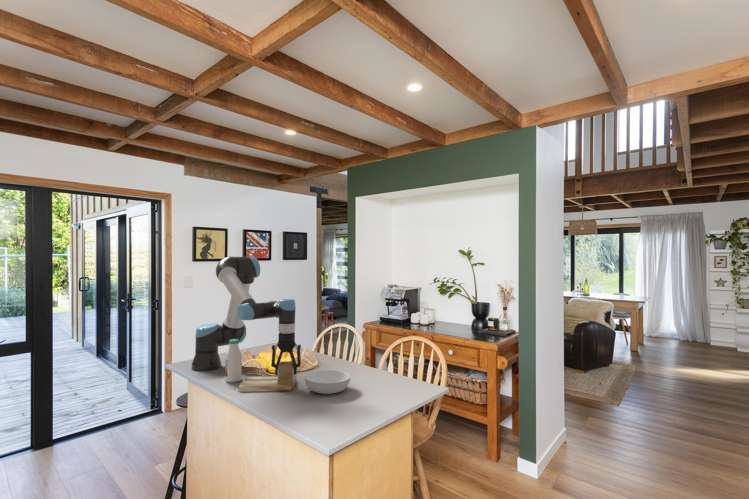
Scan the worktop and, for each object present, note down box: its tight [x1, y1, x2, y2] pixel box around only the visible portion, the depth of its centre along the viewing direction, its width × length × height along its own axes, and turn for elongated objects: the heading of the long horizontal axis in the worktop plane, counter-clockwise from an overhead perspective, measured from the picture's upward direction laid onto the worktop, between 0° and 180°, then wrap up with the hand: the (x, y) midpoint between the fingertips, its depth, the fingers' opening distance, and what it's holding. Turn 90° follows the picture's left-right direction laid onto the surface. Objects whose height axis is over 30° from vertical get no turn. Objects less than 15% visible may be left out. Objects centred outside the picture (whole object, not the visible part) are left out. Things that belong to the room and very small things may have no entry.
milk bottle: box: [224, 339, 243, 383], centre depth 192 cm, size 8×8×20 cm
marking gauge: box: [278, 360, 294, 390], centre depth 180 cm, size 8×6×11 cm
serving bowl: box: [304, 369, 351, 395], centre depth 178 cm, size 21×21×7 cm
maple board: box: [238, 375, 297, 393], centre depth 183 cm, size 14×24×2 cm, turn 95°
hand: (285, 381), depth 181 cm, fingers closed on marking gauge, 6 cm apart
